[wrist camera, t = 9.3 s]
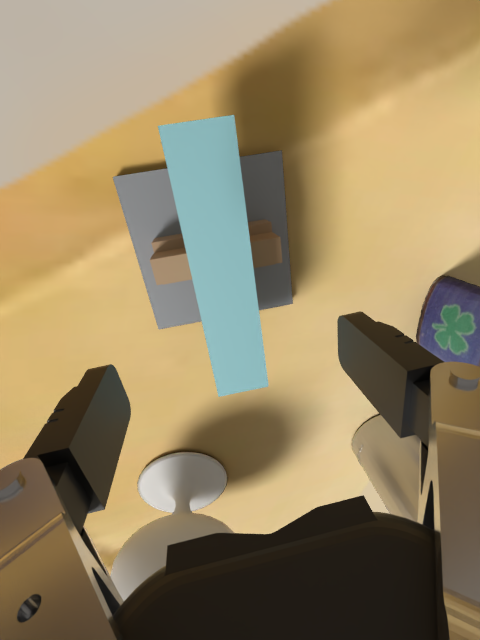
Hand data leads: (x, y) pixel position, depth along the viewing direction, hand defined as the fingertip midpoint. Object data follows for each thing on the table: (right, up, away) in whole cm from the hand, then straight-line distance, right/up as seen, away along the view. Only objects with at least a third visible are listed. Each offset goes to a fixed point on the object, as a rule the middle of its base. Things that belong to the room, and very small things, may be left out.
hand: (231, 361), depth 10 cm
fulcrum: (-2, +9, +17) cm, 20 cm away
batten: (-1, +6, +12) cm, 14 cm away
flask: (+23, +2, +24) cm, 34 cm away
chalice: (-8, -21, +30) cm, 38 cm away
